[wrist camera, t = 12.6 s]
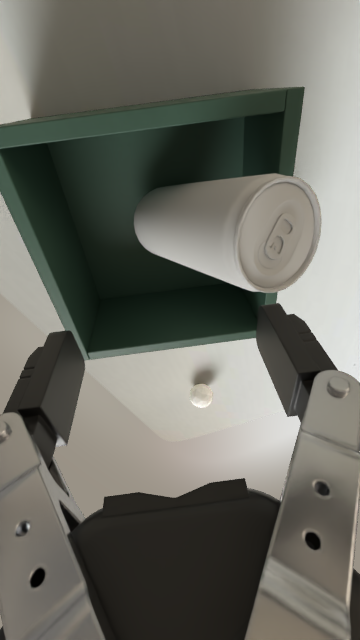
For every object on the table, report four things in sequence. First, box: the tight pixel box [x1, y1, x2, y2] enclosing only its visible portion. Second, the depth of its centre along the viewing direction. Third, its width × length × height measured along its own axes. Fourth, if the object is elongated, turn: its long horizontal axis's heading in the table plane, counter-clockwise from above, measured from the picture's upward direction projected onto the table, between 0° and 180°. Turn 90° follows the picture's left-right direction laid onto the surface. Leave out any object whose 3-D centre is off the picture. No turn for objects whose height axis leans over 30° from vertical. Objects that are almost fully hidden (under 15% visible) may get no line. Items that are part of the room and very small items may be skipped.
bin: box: [0, 87, 305, 360], centre depth 20 cm, size 15×15×8 cm
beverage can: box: [134, 173, 321, 293], centre depth 16 cm, size 5×5×12 cm
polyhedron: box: [189, 384, 213, 408], centre depth 36 cm, size 3×3×3 cm
